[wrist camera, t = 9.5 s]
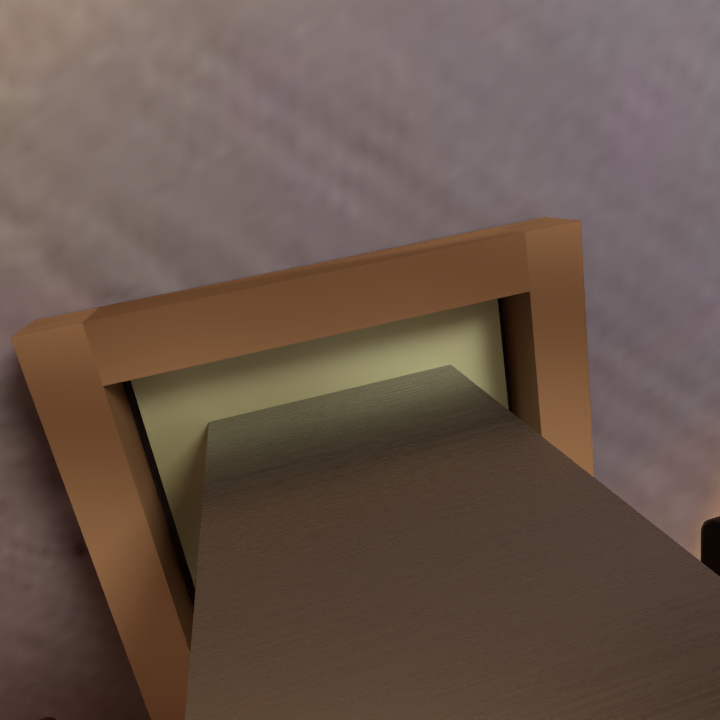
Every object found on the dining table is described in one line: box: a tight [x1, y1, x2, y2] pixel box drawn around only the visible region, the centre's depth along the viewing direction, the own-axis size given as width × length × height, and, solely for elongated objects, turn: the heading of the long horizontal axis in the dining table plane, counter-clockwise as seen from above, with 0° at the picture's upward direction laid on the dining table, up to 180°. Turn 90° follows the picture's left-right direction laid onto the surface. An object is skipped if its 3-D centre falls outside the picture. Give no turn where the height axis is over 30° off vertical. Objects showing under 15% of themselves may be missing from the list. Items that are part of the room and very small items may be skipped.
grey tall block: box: [185, 364, 720, 720], centre depth 7 cm, size 4×4×9 cm
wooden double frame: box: [10, 217, 594, 720], centre depth 13 cm, size 19×9×1 cm, turn 10°
